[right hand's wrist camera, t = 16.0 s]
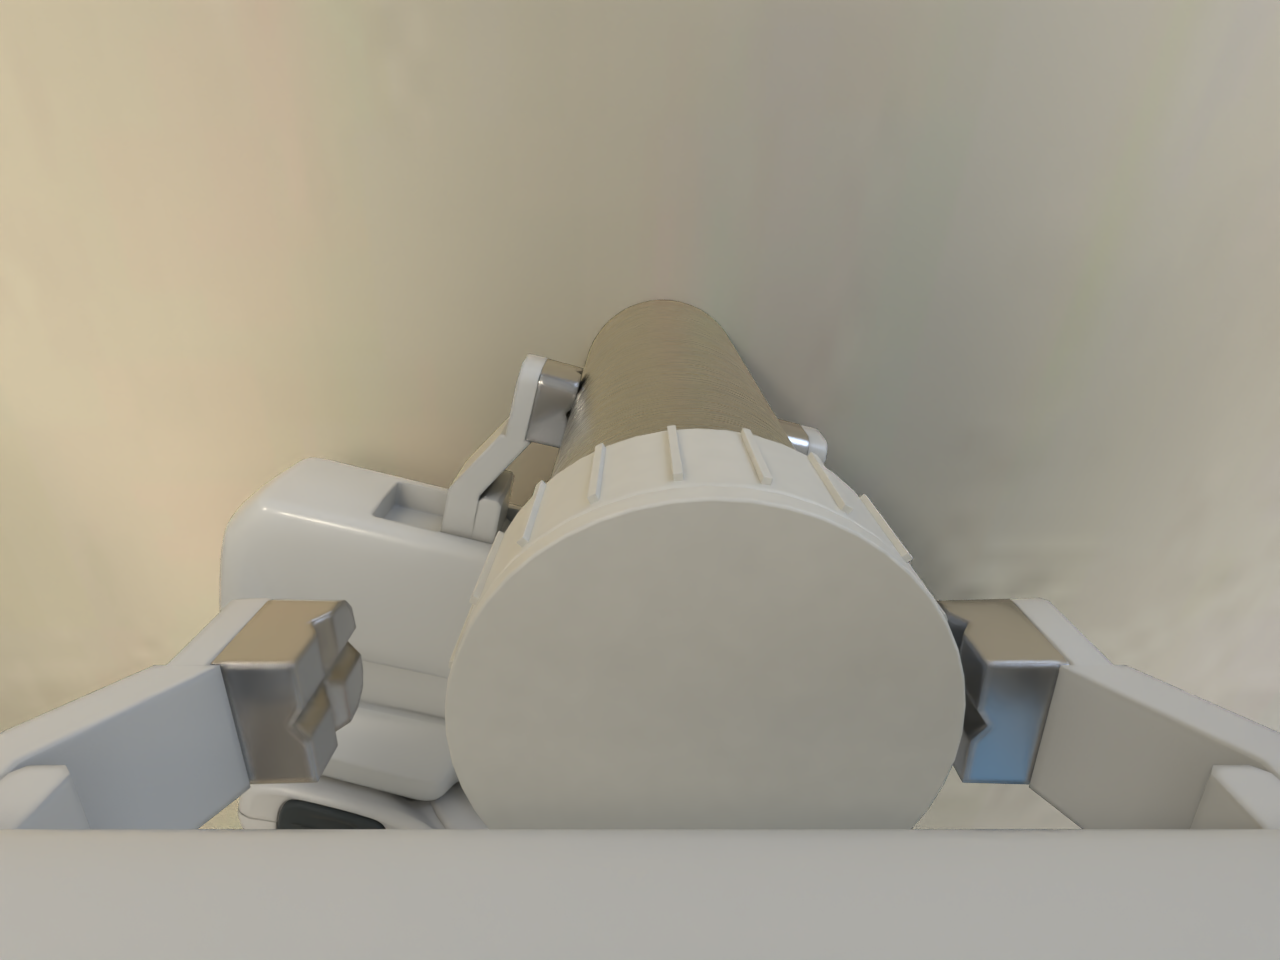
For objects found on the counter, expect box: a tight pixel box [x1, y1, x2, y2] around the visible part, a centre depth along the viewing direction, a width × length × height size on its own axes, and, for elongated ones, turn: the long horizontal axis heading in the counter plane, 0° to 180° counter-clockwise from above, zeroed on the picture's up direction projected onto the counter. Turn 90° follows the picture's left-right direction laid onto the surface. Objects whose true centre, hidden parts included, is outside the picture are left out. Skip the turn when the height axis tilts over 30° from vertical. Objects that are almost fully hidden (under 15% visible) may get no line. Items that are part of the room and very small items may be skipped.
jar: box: [550, 300, 796, 480], centre depth 16 cm, size 5×5×16 cm
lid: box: [445, 425, 966, 829], centre depth 9 cm, size 6×6×2 cm
